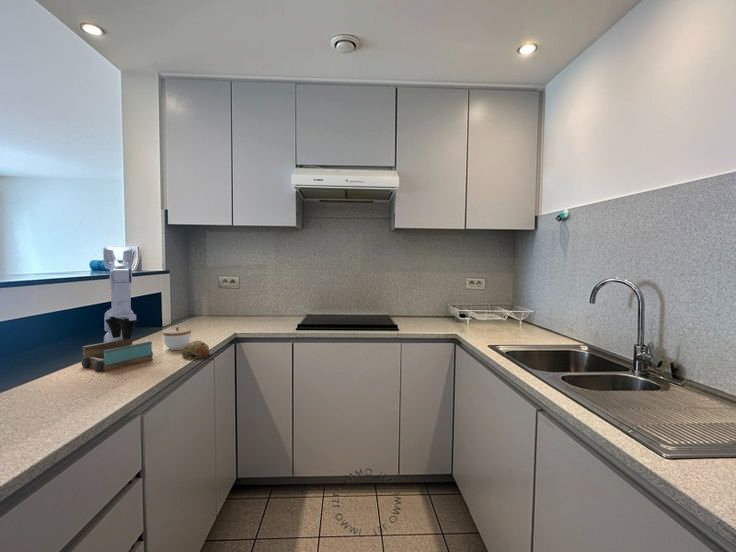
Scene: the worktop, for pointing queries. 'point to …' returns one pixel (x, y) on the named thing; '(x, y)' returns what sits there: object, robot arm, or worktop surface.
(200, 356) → the bread roll
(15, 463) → the worktop surface
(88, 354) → the cart bed
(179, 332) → the lidded jar
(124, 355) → the tailgate
